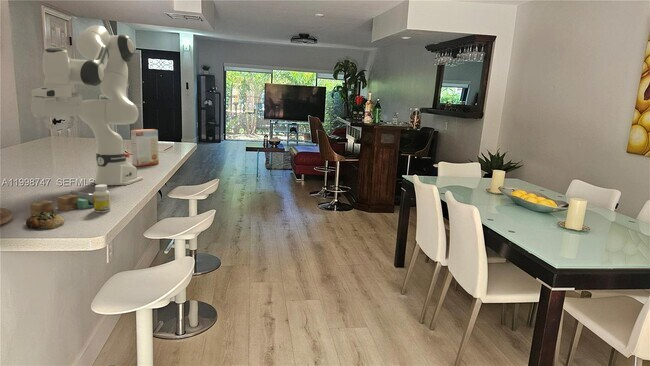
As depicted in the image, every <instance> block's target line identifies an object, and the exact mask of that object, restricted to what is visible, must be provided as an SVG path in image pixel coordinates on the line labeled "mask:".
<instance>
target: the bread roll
mask: <svg viewBox="0 0 650 366" xmlns="http://www.w3.org/2000/svg"><path fill="white" fill-rule="evenodd" d="M64 223H65V219H64V218H63V217H62V216H60V215H59V214H56V213H54V214H51V213H50V212H48V213H46V212H41V213H40V214H37V215H36V214H35V213H34V214H33V215H32V216H31V215H30V216H29V217H28V218H27V219H26V221H25V226H26V228H27V229H31V230H41V229H44V230H49V229H56V228H59V227H61V226H62V225H64ZM55 227H56V228H55Z"/></svg>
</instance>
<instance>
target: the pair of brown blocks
mask: <svg viewBox="0 0 650 366" xmlns="http://www.w3.org/2000/svg"><path fill="white" fill-rule="evenodd" d="M77 200H78V196H76V195H69V194H68V195H67V194H66V195H61V196H58V197H56V204H57V210H59V211H71V210H74V209H78V208H77ZM29 210H30V216H32V215H33V214H34V213H35V214H36V215H37V214H40V213H41V212H46V213H48V212H50V213H51V214H55V209H54V201H49V200H45V199H44V200H41V201H36V202H33V203H29Z"/></svg>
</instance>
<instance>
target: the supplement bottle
mask: <svg viewBox="0 0 650 366" xmlns="http://www.w3.org/2000/svg"><path fill="white" fill-rule="evenodd" d="M94 188H95V191H94V192H93V193H92V194H93V195H94V206H93V208H94V209H93V210H94V212H95V213H108V212H110V211H111V194H110V191H109V190H108V185H104V184H100V185H99V184H96V185H94Z"/></svg>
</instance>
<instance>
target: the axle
mask: <svg viewBox="0 0 650 366" xmlns="http://www.w3.org/2000/svg"><path fill="white" fill-rule="evenodd" d="M88 193H89V192H87V193H86V192H82V191H77V190H76V191H75V190H71V191H69V193H68V195H76V196H78V198H80V199H86V200H88V205H89V204H94V195H93V193H89V194H88Z"/></svg>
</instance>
